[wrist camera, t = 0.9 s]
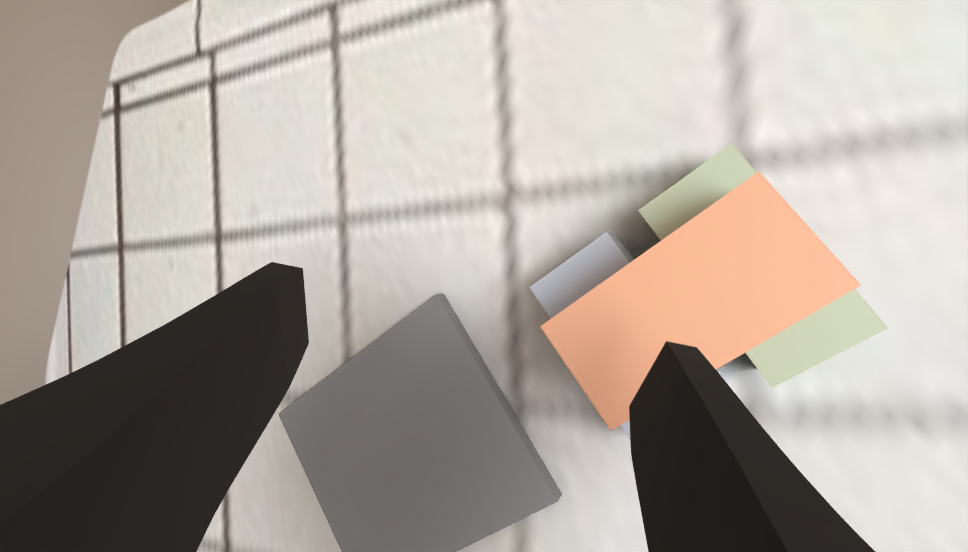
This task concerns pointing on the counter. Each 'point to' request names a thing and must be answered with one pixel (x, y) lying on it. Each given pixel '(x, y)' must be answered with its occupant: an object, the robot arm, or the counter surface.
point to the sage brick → (802, 340)
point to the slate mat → (417, 443)
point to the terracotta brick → (698, 295)
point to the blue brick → (582, 277)
